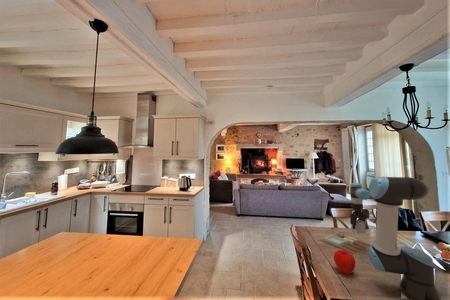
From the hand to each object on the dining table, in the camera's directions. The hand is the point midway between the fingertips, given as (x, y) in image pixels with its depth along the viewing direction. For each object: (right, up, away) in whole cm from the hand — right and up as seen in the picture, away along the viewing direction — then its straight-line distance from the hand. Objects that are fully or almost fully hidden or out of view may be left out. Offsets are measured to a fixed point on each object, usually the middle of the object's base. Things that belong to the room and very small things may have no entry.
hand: (358, 231), depth 137 cm
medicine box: (0, -1, 0) cm, 1 cm away
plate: (+4, -16, +15) cm, 22 cm away
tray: (-9, -16, +14) cm, 23 cm away
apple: (-27, -16, -23) cm, 39 cm away
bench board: (-2, -17, +13) cm, 21 cm away
